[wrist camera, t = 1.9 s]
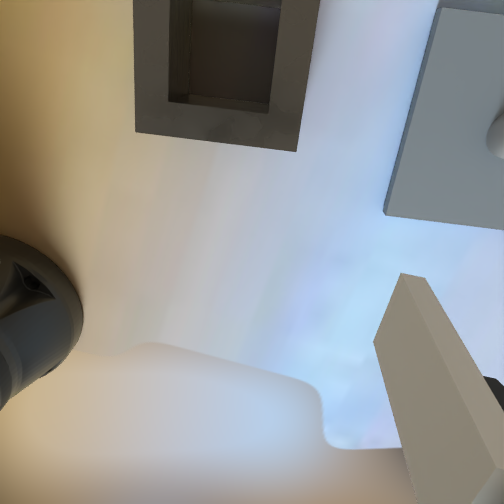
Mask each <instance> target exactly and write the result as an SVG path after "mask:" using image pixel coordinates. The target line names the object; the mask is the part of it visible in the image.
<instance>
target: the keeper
mask: <svg viewBox="0 0 504 504" xmlns="http://www.w3.org/2000/svg"><path fill="white" fill-rule="evenodd" d="M383 212H384V214H385V215H386V216H394V217H402V218H410V219H418V220H426V221H434V222H442V223H450V224H458V225H466V226H474V227H483V228H491V229H499V230H504V15H502V14H494V13H486V12H477V11H469V10H461V9H452V8H444V7H442V8H439V9H437V10H436V14H435V18H434V21H433V25H432V29H431V33H430V36H429V40H428V44H427V48H426V51H425V55H424V59H423V62H422V66H421V70H420V74H419V77H418V81H417V85H416V89H415V92H414V96H413V100H412V104H411V107H410V111H409V115H408V119H407V122H406V126H405V130H404V133H403V137H402V141H401V145H400V148H399V152H398V156H397V160H396V163H395V167H394V171H393V175H392V178H391V182H390V186H389V190H388V193H387V197H386V201H385V204H384V208H383Z"/></svg>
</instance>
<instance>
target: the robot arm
mask: <svg viewBox="0 0 504 504" xmlns="http://www.w3.org/2000/svg"><path fill="white" fill-rule="evenodd" d="M82 325H83V315H82V308H81V304H80V301H79V298H78V296H77V294H76V291H75V289H74V288H73V286H72V284H71V283H70V281H69V280H68V278H67V277H66V276H65V274H64V273H63V272H62V271H61V270H60V269H59V268H58V267H57V266H56V265H55V264H54V263H53V262H52V261H51V260H50V259H48V258H47V257H46V256H44V255H43V254H42V253H40V252H39V251H37V250H36V249H34V248H32V247H30V246H29V245H27V244H25V243H22V242H20V241H18V240H15V239H12V238H9V237H6V236H2V235H0V410H1V409H2V408H3V407H4V405H5V404H6V403H7V402H8V400H9V399H10V398H12V397H13V396H15V395H16V394H18V393H19V392H20V391H22V390H23V389H24V388H26V387H27V386H29V385H30V384H31V383H33V382H34V381H35V380H37V379H38V378H41V377H43V376H45V375H47V374H48V373H50V372H51V371H53V370H54V369H56V368H57V367H58V366H59V365H60V364H61V363H62V362H63V361H64V360H65V359H66V357H67V356H68V354H69V353H70V352H71V350H72V349H73V348H74V346H75V345H76V343H77V341H78V339H79V337H80V334H81V331H82ZM373 343H374V346H375V350H376V354H377V357H378V361H379V365H380V368H381V372H382V376H383V379H384V383H385V387H386V390H387V394H388V398H389V401H390V405H391V409H392V412H393V416H394V419H395V423H396V427H397V430H398V434H399V438H400V441H401V445H402V449H403V452H404V456H405V460H406V463H407V467H408V470H409V474H410V478H411V481H412V485H413V488H414V492H415V496H416V500H417V503H418V504H504V386H503V385H502V384H501V383H500V382H499V381H498V380H497V379H495V378H490V377H485V376H482V374H481V372H480V371H479V369H478V367H477V365H476V364H475V362H474V360H473V359H472V357H471V355H470V354H469V352H468V350H467V348H466V347H465V345H464V343H463V342H462V340H461V338H460V337H459V335H458V333H457V332H456V330H455V328H454V326H453V325H452V323H451V321H450V320H449V318H448V316H447V315H446V313H445V311H444V309H443V308H442V306H441V304H440V303H439V301H438V299H437V298H436V296H435V294H434V292H433V291H432V289H431V287H430V286H429V284H428V282H427V281H426V279H425V278H423V277H418V276H413V275H408V274H404V273H401V274H400V276H399V279H398V281H397V284H396V286H395V289H394V291H393V294H392V296H391V299H390V301H389V304H388V306H387V309H386V311H385V314H384V316H383V319H382V321H381V323H380V326H379V328H378V331H377V333H376V336H375V338H374V341H373Z"/></svg>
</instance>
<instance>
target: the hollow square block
mask: <svg viewBox="0 0 504 504" xmlns="http://www.w3.org/2000/svg"><path fill="white" fill-rule="evenodd" d="M215 1H223V2H231V3H240V4H248V5H256V6H265V7H273V8H281V12H280V20H279V28H278V37H277V45H276V53H275V62H274V70H273V78H272V86H271V95H270V103H269V104H266V103H258V102H250V101H242V100H233V99H225V98H217V97H209V96H201V95H193V94H189V70H190V43H191V16H192V0H133V28H134V82H135V132H138V133H146V134H154V135H163V136H171V137H179V138H187V139H195V140H203V141H211V142H219V143H227V144H236V145H244V146H252V147H260V148H268V149H276V150H284V151H292V152H296V151H297V145H298V138H299V132H300V125H301V119H302V113H303V106H304V100H305V93H306V87H307V81H308V74H309V68H310V61H311V55H312V49H313V42H314V36H315V29H316V23H317V17H318V10H319V4H320V0H215Z"/></svg>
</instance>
